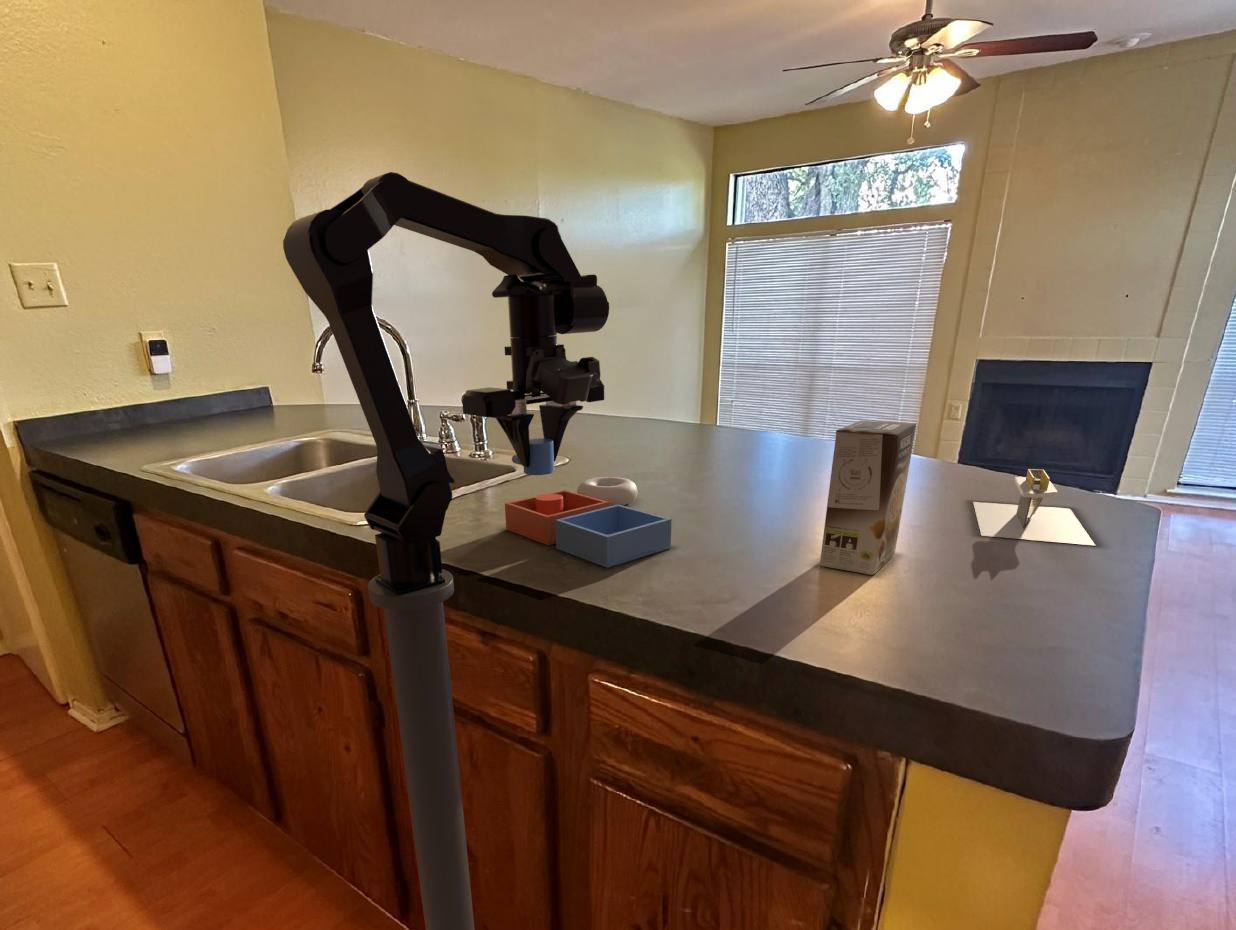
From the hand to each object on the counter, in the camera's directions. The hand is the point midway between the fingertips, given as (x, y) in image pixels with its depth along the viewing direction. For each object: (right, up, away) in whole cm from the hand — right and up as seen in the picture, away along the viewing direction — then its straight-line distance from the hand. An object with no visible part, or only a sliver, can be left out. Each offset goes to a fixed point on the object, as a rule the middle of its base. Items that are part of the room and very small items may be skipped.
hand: (538, 463), depth 90 cm
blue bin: (+10, -11, +2) cm, 15 cm away
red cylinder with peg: (+3, -7, +11) cm, 13 cm away
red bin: (+3, -8, +11) cm, 14 cm away
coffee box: (+39, -13, -6) cm, 41 cm away
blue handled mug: (-1, 0, +2) cm, 2 cm away
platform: (+67, -7, +5) cm, 68 cm away
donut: (+12, -2, +24) cm, 27 cm away
